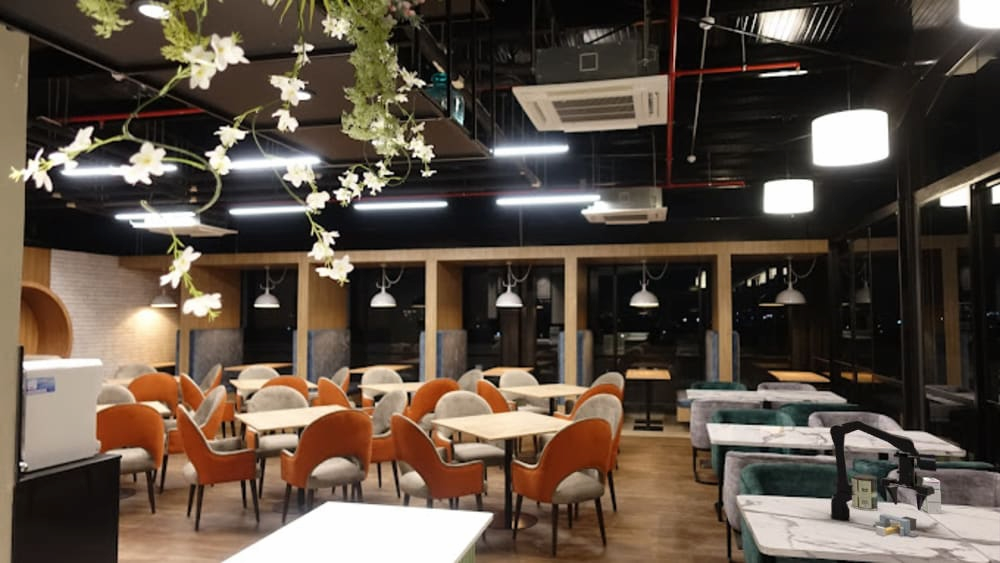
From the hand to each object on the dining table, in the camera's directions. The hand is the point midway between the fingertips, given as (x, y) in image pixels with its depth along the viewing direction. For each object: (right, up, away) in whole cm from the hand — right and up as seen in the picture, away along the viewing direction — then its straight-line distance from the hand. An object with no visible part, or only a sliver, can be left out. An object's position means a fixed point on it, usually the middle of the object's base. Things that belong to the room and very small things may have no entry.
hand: (907, 507), depth 269 cm
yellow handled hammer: (-8, -8, -5) cm, 12 cm away
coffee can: (-1, -11, +30) cm, 31 cm away
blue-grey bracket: (-9, -8, -6) cm, 13 cm away
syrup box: (+26, -11, +24) cm, 37 cm away
